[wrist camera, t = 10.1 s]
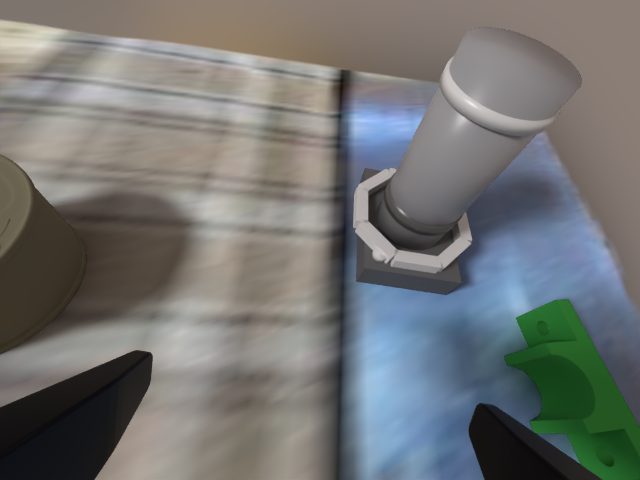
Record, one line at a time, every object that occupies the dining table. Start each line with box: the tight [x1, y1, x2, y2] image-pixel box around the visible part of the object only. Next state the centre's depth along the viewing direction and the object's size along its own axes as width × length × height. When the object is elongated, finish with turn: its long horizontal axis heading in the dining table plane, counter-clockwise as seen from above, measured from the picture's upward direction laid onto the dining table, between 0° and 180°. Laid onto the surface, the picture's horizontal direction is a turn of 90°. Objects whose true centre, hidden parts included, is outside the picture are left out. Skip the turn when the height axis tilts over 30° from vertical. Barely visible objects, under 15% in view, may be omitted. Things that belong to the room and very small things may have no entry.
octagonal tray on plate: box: [353, 168, 472, 295], centre depth 27 cm, size 11×10×4 cm
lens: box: [376, 27, 582, 251], centre depth 21 cm, size 6×6×14 cm
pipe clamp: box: [504, 299, 640, 480], centre depth 21 cm, size 11×4×5 cm, turn 6°
